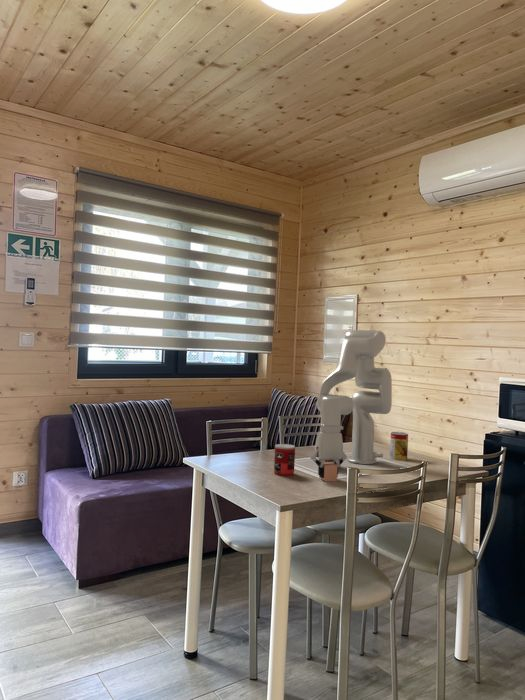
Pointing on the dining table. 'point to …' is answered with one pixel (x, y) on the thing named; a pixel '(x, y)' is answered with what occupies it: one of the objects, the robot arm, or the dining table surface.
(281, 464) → the canned food
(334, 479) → the block
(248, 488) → the dining table surface
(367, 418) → the robot arm
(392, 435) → the canned food
